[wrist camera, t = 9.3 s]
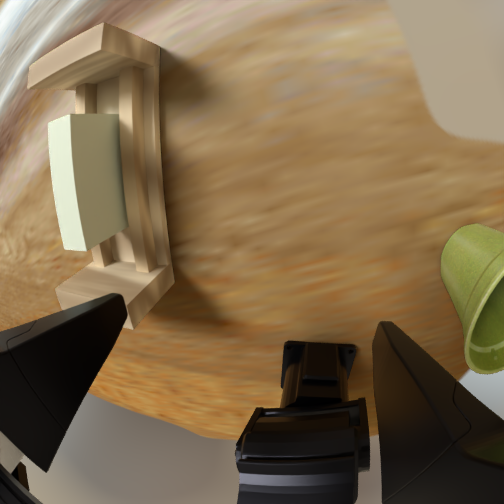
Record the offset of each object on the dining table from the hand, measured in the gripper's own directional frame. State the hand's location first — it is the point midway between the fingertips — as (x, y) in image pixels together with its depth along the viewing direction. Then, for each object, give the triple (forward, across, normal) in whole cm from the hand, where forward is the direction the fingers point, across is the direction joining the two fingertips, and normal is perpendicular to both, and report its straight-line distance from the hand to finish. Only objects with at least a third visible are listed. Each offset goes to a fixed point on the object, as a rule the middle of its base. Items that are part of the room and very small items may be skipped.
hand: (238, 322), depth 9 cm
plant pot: (+12, -16, +2) cm, 20 cm away
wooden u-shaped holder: (+12, +13, -4) cm, 18 cm away
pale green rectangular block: (+11, +13, -4) cm, 18 cm away
